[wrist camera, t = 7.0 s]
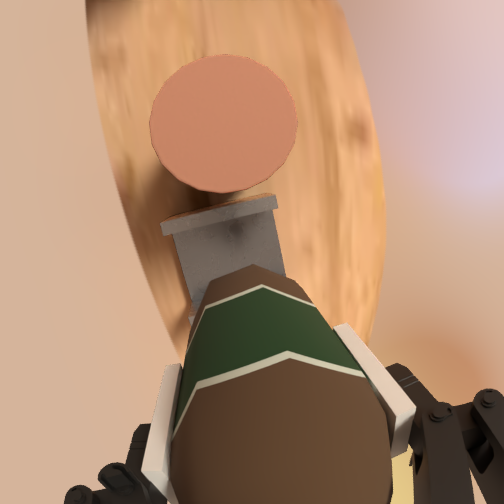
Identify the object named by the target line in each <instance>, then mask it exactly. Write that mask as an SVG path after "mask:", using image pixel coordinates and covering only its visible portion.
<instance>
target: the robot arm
mask: <svg viewBox="0 0 504 504" xmlns="http://www.w3.org/2000/svg"><path fill="white" fill-rule="evenodd" d="M333 332H334V333H335V334H336V336H337V337H338V339H339V340H340V342H341V343H342V344H343V346H344V347H345V349H346V350H347V351H348V353H349V354H350V356H351V357H352V358H353V360H354V361H355V363H356V364H357V366H358V367H359V368H360V370H361V371H362V373H363V374H364V375H365V377H366V378H367V380H368V382H369V384H370V386H371V388H372V390H373V391H374V393H375V395H376V397H377V399H378V401H379V403H380V405H381V406H382V408H383V410H384V412H385V414H386V420H387V427H388V435H389V442H390V451H391V458H393V457H395V456H398V455H400V454H402V453H404V452H406V451H407V448H408V444H409V445H410V446H411V448H412V449H413V453H412V456H411V460H410V464H409V466H412V465H413V483H414V504H475V502H474V494H473V487H472V481H471V475H470V470H471V472H472V474H473V476H474V478H475V480H476V482H477V484H478V486H479V488H480V490H481V492H482V494H483V496H484V499H485V501H486V503H487V504H504V397H503V395H502V394H501V393H500V392H499V391H497V390H494V389H484V390H481V391H479V392H478V393H477V394H476V396H475V397H474V400H473V402H469V403H466V404H462V405H459V406H451V405H450V404H449V403H445V402H438V401H437V400H436V399H435V398H434V397H433V396H432V395H431V394H430V392H429V391H428V390H427V389H426V388H425V387H424V386H423V384H422V383H421V382H420V381H418V379H417V378H416V377H415V376H413V374H412V372H411V371H410V370H409V369H408V368H407V367H405V366H403V365H401V364H398V363H396V364H393V365H391V366H388V367H386V368H384V367H383V365H382V364H381V363H380V362H379V360H378V359H377V358H376V357H375V356H374V354H373V353H372V352H371V351H370V349H369V348H368V347H367V346H366V345H365V343H364V342H363V341H362V340H361V339H360V337H359V336H358V335H357V334H356V333H355V332H354V330H353V329H352V328H351V327H350V326H349V324H348V323H344V324H341V325H338V326H334V327H333ZM182 372H183V369H182V366H181V364H180V363H179V364H173V365H167V366H166V368H165V371H164V375H163V379H162V383H161V387H160V391H159V395H158V399H157V403H156V407H155V411H154V415H153V419H152V423H150V424H140V425H139V427H138V428H137V429H136V430H135V432H134V434H133V437H132V441H131V442H132V443H131V444H130V450H129V452H128V456H127V460H126V463H125V464H123V463H118V462H117V463H110V464H108V465H106V466H105V467H104V468H102V469H101V471H100V472H99V474H98V481H99V482H100V483H101V484H102V485H103V486H104V487H105V488H106V489H102V490H97V491H92V490H91V489H90V488H88V487H86V486H84V485H77V486H74V487H72V488H70V489H69V491H68V492H67V494H66V496H65V501H64V504H167V500H168V501H169V502H170V503H171V504H179V503H178V500H177V498H176V495H175V492H174V490H173V487H172V484H171V481H170V473H171V441H172V434H173V427H174V421H175V414H176V408H177V402H178V396H179V390H180V384H181V378H182ZM469 468H470V469H469Z"/></svg>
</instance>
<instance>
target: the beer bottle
mask: <svg viewBox="0 0 504 504" xmlns="http://www.w3.org/2000/svg"><path fill="white" fill-rule="evenodd" d="M170 481H171V484H172V487H173V490H174V492H175V495H176V498H177V500H178V503H179V504H390V502H391V498H392V494H393V479H392V460H391V451H390V442H389V435H388V427H387V420H386V414H385V412H384V410H383V408H382V406H381V405H380V403H379V401H378V399H377V397H376V395H375V393H374V391H373V390H372V388H371V386H370V384H369V382H368V380H367V378H366V377H365V375H364V374H363V373H362V371H361V370H360V368H359V367H358V366H357V364H356V363H355V361H354V360H353V358H352V357H351V356H350V354H349V353H348V351H347V350H346V349H345V347H344V346H343V344H342V343H341V342H340V340H339V339H338V337H337V336H336V334H335V333H334V332H333V330H332V329H331V328H330V326H329V325H328V323H327V322H326V321H325V319H324V318H323V316H322V315H321V314H320V312H319V311H318V309H317V308H316V307H315V305H314V304H313V303H312V301H311V300H310V298H309V297H308V296H307V294H306V293H305V292H304V290H303V289H302V288H301V287H300V286H299V285H298V284H297V283H296V282H295V281H294V280H292V279H289V278H287V277H284V276H282V275H280V274H277V273H275V272H272V271H270V270H267V269H265V268H262V267H260V266H257V265H255V264H252V265H249V266H247V267H244V268H242V269H239V270H237V271H234V272H231V273H229V274H226V275H224V276H221V277H219V278H216V279H214V280H211V281H210V282H209V285H208V287H207V289H206V292H205V294H204V296H203V299H202V301H201V304H200V306H199V308H198V311H197V313H196V316H195V318H194V321H193V324H192V327H191V330H190V334H189V339H188V345H187V350H186V356H185V361H184V367H183V372H182V378H181V384H180V390H179V396H178V402H177V408H176V414H175V421H174V427H173V434H172V441H171V473H170Z"/></svg>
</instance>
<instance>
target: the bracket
mask: <svg viewBox="0 0 504 504" xmlns="http://www.w3.org/2000/svg"><path fill="white" fill-rule="evenodd" d="M277 208H278V205H277V200H276V195H274V194H269V193H265V194H260V195H256V196H251V197H247V198H243V199H238V200H234V201H230V202H226V203H222V204H217V205H213V206H209V207H205V208H201V209H197V210H194V211H190V212H186V213H182V214H178V215H174V216H171V217H169V218H167V219H166V220H164V221H162V222H161V223H160V226H161V229H162V233H163V236H166V235H170V234H172V235H173V239H174V242H175V246H176V250H177V253H178V257H179V260H180V264H181V267H182V270H183V274H184V277H185V281H186V284H187V287H188V290H189V294H190V297H191V300H192V303H191V307H190V311H189V315H188V319H189V321H190V324H191V327H192V324H193V321H194V318H195V316H196V313H197V311H198V308H199V306H200V304H201V301H202V299H203V296H204V294H205V292H206V289H207V287H208V285H209V282H210V281H211V280H214V279H216V278H219V277H221V276H224V275H226V274H229V273H231V272H234V271H237V270H239V269H242V268H244V267H247V266H249V265H252V264H255V265H257V266H260V267H262V268H265V269H267V270H270V271H272V272H275V273H277V274H280V275H282V276H284V277H286V274H285V269H284V264H283V259H282V254H281V249H280V244H279V240H278V235H277V230H276V225H275V221H274V216H273V211H272V209H277Z"/></svg>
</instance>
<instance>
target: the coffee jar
mask: <svg viewBox="0 0 504 504" xmlns="http://www.w3.org/2000/svg"><path fill="white" fill-rule="evenodd" d="M297 124H298V120H297V114H296V109H295V103H294V100H293V98H292V96H291V94H290V92H289V91H288V89H287V87H286V85H285V83H284V82H283V81H282V80H281V79H280V78H279V77H278V76H277V75H276V74H275V73H274V72H273V71H271V70H270V69H269V68H268V67H267V66H265V65H263V64H260V63H258V62H256V61H254V60H252V59H250V58H248V57H242V56H235V55H228V54H222V55H215V56H208V57H202V58H200V59H198V60H196V61H193V62H191V63H189V64H187V65H185V66H183V67H181V68H180V69H179V70H178V71H177V72H176V73H174V74H173V75H172V76H171V77H170V78H169V79H168V80H167V81H166V82H165V83H164V85H163V86H162V88H161V90H160V91H159V93H158V95H157V96H156V98H155V100H154V102H153V107H152V112H151V116H150V121H149V125H150V133H151V141H152V146H153V148H154V150H155V152H156V154H157V156H158V158H159V160H160V162H161V164H162V165H163V166H164V167H165V168H166V169H167V170H168V171H169V172H170V173H171V174H172V175H173V176H174V177H176V178H177V179H178V180H179V181H181V182H183V183H185V184H187V185H190V186H192V187H194V188H196V189H198V190H202V191H209V192H216V193H229V192H235V191H241V190H247V189H249V188H251V187H253V186H255V185H257V184H259V183H261V182H263V181H265V180H267V179H268V178H269V177H270V176H271V175H272V174H273V173H274V172H275V171H276V170H277V169H278V168H280V167H281V166H282V165H283V164H284V162H285V160H286V158H287V157H288V155H289V153H290V151H291V149H292V147H293V145H294V143H295V137H296V130H297Z"/></svg>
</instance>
